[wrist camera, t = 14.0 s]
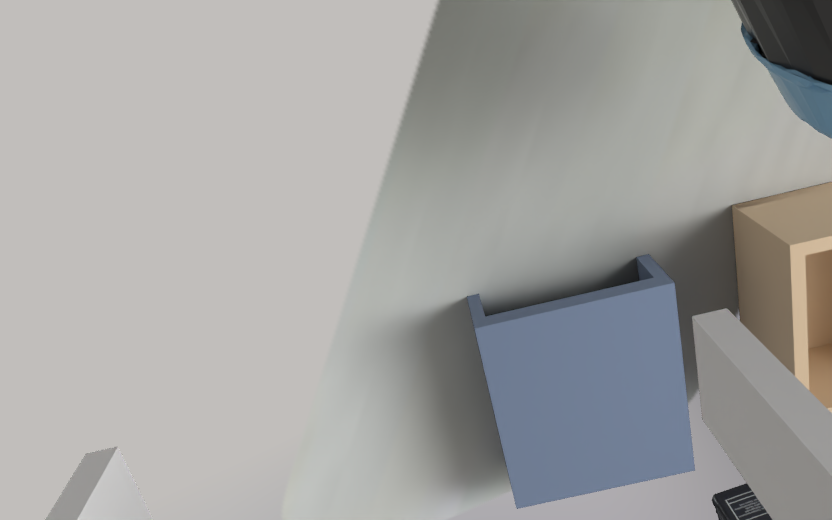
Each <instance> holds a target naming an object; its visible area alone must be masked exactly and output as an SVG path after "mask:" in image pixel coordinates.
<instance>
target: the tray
mask: <svg viewBox="0 0 832 520" xmlns="http://www.w3.org/2000/svg"><path fill="white" fill-rule="evenodd" d="M732 214H733V228H734V242H735V256H736V270H737V284H738V298H739V312H740V322H741V323H742V324H743V325H744V326H745V327H746V328H747V329H748V330H749V331H750V332H751V333H752V334H753V335H754V336H755V337H756V338H757V339H758V340H759V341H760V342H761V343H762V344H763V345H764V346H765V347H766V348H767V349H768V350H769V351H770V352H771V353H772V354H773V355H774V356H775V357H776V358H777V359H778V360H779V361H780V362H781V363H782V364H783V365H784V366H785V367H786V368H787V369H788V370H789V371H790V372H791V373H792V374H793V375H794V376H795V377H796V378H797V379H798V380H799V381H800V382H801V383H802V384H803V385H804V386H805V387H806V388H807V389H808V390H809V391H810V392H811V393H812V394H813V395H814V396H815V397H816V398H817V399H818V400H819V401H820V402H821V403H822V404H823V405H824V406H825V407H826V408H827V409H828V410H829V411H830V412H831V413H832V182H829V183H825V184H820V185H816V186H812V187H808V188H803V189H799V190H795V191H791V192H786V193H782V194H778V195H773V196H769V197H765V198H761V199H756V200H752V201H748V202H744V203H739V204H735V205H732Z"/></svg>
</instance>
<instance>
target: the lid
mask: <svg viewBox="0 0 832 520" xmlns="http://www.w3.org/2000/svg"><path fill="white" fill-rule="evenodd" d="M636 258H637V266H638V273H639V281H637V282H633V283H628V284H624V285H620V286H615V287H611V288H607V289H602V290H598V291H594V292H589V293H585V294H581V295H576V296H572V297H568V298H563V299H559V300H555V301H550V302H546V303H542V304H537V305H533V306H529V307H524V308H520V309H516V310H511V311H507V312H503V313H498V314H494V315H490V316H485V314H484V311H483V307H482V304H481V300H480V297H479V294H476V295H471V296H467V300H468V304H469V308H470V313H471V317H472V321H473V326H474V330H475V334H476V338H477V343H478V347H479V351H480V355H481V360H482V364H483V368H484V372H485V377H486V381H487V385H488V390H489V394H490V398H491V402H492V407H493V411H494V415H495V419H496V424H497V428H498V432H499V437H500V441H501V445H502V449H503V454H504V458H505V462H506V466H507V471H508V475H509V479H510V483H511V487H512V491H513V495H514V499H515V504H516V507H517V509H518V508H523V507H527V506H532V505H537V504H541V503H545V502H551V501H555V500H560V499H565V498H568V497H574V496H578V495H582V494H588V493H592V492H597V491H602V490H606V489H611V488H615V487H620V486H625V485H629V484H634V483H638V482H643V481H648V480H653V479H657V478H662V477H666V476H671V475H676V474H680V473H685V472H690V471H694V470H695V467H694V457H693V448H692V439H691V430H690V421H689V411H688V402H687V393H686V383H685V374H684V365H683V356H682V346H681V337H680V328H679V319H678V310H677V300H676V291H675V283H674V281H673V280H672V279H671V278H670V277H669V276H668V275H667V274H666V273H665V272H664V271H663V269H662V268H661V267H660V266H659V265H658V264H657V263H656V262H655V261H654V260H653V258H652V257H651V256H650V255H649V254H648V255H643V256H639V257H636Z"/></svg>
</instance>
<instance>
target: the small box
mask: <svg viewBox="0 0 832 520" xmlns="http://www.w3.org/2000/svg"><path fill="white" fill-rule="evenodd" d="M712 501H713V505H714V506H715V508H716V513H717V514H718V518H719V520H772V518H771V517H770V516H769V514H768V513H767V511H766V510H765V508H764V507H763V506H762V504H761V503H760V501H759V500H758V498H757V497H756V496H755V494H754V493H753V491H752V490H751V488H750V487H749V486H748V484H744V485H741V486H738V487H735V488H732V489H729V490H726V491H723V492H720V493H718V494H715V495H714V496H713V499H712Z"/></svg>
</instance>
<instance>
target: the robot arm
mask: <svg viewBox="0 0 832 520" xmlns="http://www.w3.org/2000/svg"><path fill="white" fill-rule="evenodd" d="M731 1H732V3H733V5H734V7H735V9H736V11H737V13H738V15H739V17H740V19H741V21H742V26H741V32H742V35H743V37H744V39H745V42H746V44H747V46H748V47H749V49H750V51H751V53H752V54H753V55H754V56H755V57H756V58H757V59H758V60H759V61H760V62H761V63H762V64H763V65H764V66H765V67H766V68H767V69H768V71H769V73H770V74H771V76H772V78H773V80H774V82H775V83H776V85H777V87H778V89H779V90H780V92H781V94H782V96H783V97H784V99H785V101H786V102H787V104H788V105H789V107H790V108H791V110H792V111H793V112H794V113H795V114H796V115H797V116H798V117H799V118H800V119H801V120H803V121H805V122H807V123H808V124H809V125H811V126H812V127H813V128H814V129H816V130H817V131H818V132H820V133H822V134H824V135H826V136H828V137H829V138H832V0H731ZM692 322H693V332H694V342H695V352H696V362H697V372H698V382H699V392H700V401H701V412H702V419H703V421H704V423H705V424H706V425H707V427H708V428H709V430H710V431H711V432H712V434H713V435H714V436H715V438H716V440H717V441H718V442H719V444H720V445H721V447H722V448H723V450H724V451H725V453H726V454H727V455H728V457H729V458H730V460H731V461H732V463H733V464H734V465H735V467H736V468H737V470H738V471H739V472H740V474H741V475H742V477H743V478H744V480H745V481H746V483H747V484H748V486H749V487H750V488H751V490H752V491H753V493H754V494H755V496H756V497H757V498H758V500H759V501H760V503H761V504H762V506H763V507H764V508H765V510H766V511H767V513H768V514H769V516H770V517H771V518H772V520H832V413H831V412H830V411H829V410H828V409H827V408H826V407H825V406H824V405H823V404H822V403H821V402H820V401H819V400H818V399H817V398H816V397H815V396H814V395H813V394H812V393H811V392H810V391H809V390H808V389H807V388H806V387H805V386H804V385H803V384H802V383H801V382H800V381H799V380H798V379H797V378H796V377H795V376H794V375H793V374H792V373H791V372H790V371H789V370H788V369H787V368H786V367H785V366H784V365H783V364H782V363H781V362H780V361H779V360H778V359H777V358H776V357H775V356H774V355H773V354H772V353H771V352H770V351H769V350H768V349H767V348H766V347H765V346H764V345H763V344H762V343H761V342H760V341H759V340H758V339H757V338H756V337H755V336H754V335H753V334H752V333H751V332H750V331H749V330H748V329H747V328H746V327H745V326H744V325H743V324H742V323H741V322H740V321H739V320H738V319H737V318H736V317H735V316H734V315H733V314H732V313H731V312H730V311H729V310H728V309H727V308H726V309H721V310H717V311H712V312H708V313H704V314H699V315H695V316H692ZM46 520H153V518H152V516H151V514H150V512H149V509H148V507H147V505H146V503H145V502H144V499H143V497H142V495H141V493H140V491H139V489H138V487H137V485H136V483H135V481H134V479H133V477H132V475H131V473H130V470H129V469H128V466H127V464H126V462H125V460H124V458H123V456H122V454H121V452H120V450H119V448H118V447H114V448H109V449H105V450H101V451H97V452H92V453H87V454H85V456H84V458H83V459H82V461H81V463H80V464H79V466H78V468H77V469H76V471H75V472H74V474H73V476H72V477H71V479H70V481H69V482H68V484H67V485H66V487H65V489H64V490H63V492H62V494H61V495H60V497H59V499H58V500H57V502H56V503H55V505H54V507H53V508H52V510H51V512H50V513H49V515H48V517H47V518H46Z"/></svg>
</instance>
